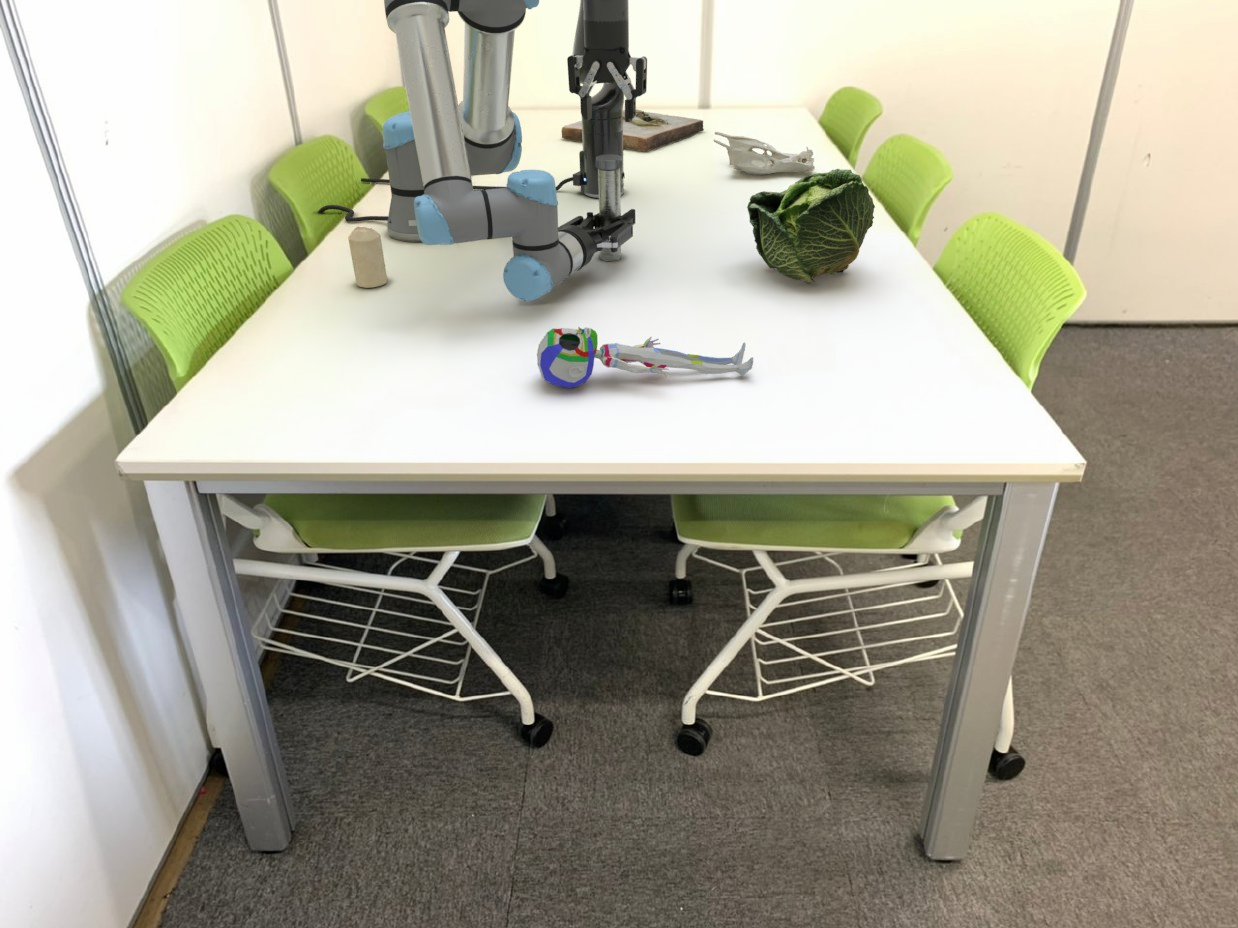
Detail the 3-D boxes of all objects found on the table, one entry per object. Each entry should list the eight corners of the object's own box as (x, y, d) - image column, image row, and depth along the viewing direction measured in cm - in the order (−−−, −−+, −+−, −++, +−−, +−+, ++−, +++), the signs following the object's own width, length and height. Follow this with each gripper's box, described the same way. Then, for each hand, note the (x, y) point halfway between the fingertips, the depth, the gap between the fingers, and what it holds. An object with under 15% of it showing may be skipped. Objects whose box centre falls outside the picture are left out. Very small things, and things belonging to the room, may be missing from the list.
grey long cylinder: (623, 260, 170) (622, 161, 161) (602, 262, 170) (600, 163, 160) (618, 253, 174) (617, 156, 164) (598, 255, 173) (596, 158, 163)
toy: (760, 356, 123) (541, 338, 118) (747, 410, 127) (536, 395, 123) (743, 326, 131) (539, 309, 127) (732, 378, 136) (534, 363, 131)
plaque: (647, 125, 237) (559, 112, 252) (647, 153, 241) (560, 139, 256) (706, 107, 258) (622, 97, 273) (705, 133, 262) (622, 121, 277)
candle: (393, 278, 163) (384, 224, 158) (377, 289, 159) (367, 234, 154) (367, 275, 165) (358, 222, 160) (350, 286, 160) (340, 231, 155)
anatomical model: (715, 128, 226) (815, 127, 222) (715, 165, 231) (813, 164, 227) (711, 142, 214) (818, 141, 210) (711, 181, 219) (815, 181, 215)
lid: (624, 169, 161) (624, 159, 160) (598, 171, 160) (598, 161, 159) (619, 162, 165) (619, 153, 164) (593, 164, 164) (593, 155, 163)
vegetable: (773, 300, 170) (724, 207, 162) (854, 244, 171) (810, 148, 164) (823, 314, 152) (771, 210, 144) (914, 251, 153) (867, 144, 145)
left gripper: (524, 266, 160) (583, 228, 177) (610, 280, 153) (663, 239, 171) (520, 225, 155) (581, 190, 173) (609, 237, 149) (663, 200, 167)
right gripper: (653, 15, 150) (653, 118, 159) (574, 13, 155) (578, 114, 163) (639, 20, 144) (640, 127, 153) (557, 18, 149) (562, 122, 157)
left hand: (622, 214), depth 172 cm, fingers closed on grey long cylinder, 4 cm apart
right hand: (608, 120), depth 158 cm, fingers open, 7 cm apart
